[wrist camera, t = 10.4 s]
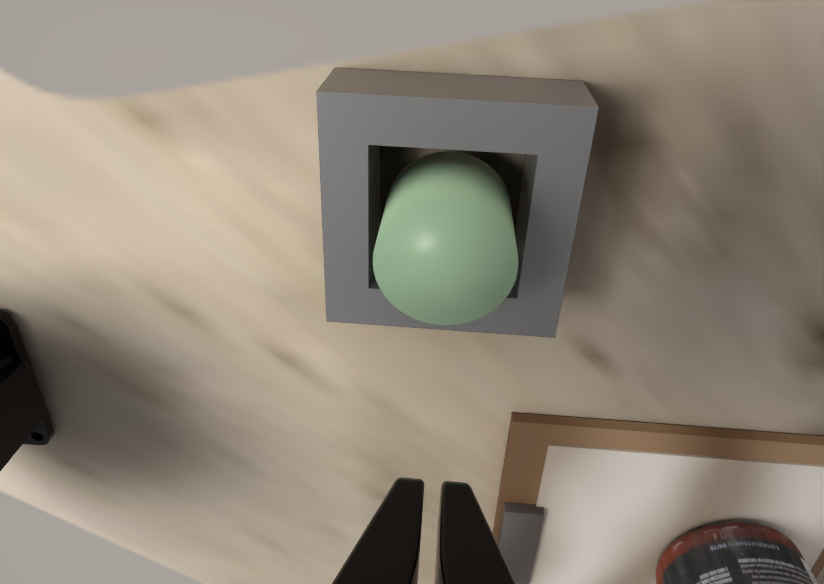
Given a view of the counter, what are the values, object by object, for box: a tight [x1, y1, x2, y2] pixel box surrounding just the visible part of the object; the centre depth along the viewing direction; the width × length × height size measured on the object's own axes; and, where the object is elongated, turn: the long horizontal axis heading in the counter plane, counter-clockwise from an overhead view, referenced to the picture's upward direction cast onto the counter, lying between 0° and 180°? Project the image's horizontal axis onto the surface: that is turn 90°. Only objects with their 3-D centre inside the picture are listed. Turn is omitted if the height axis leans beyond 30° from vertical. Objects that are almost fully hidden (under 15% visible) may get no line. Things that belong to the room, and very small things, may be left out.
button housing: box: [316, 68, 599, 338], centre depth 19 cm, size 7×7×3 cm
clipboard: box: [493, 413, 824, 584], centre depth 27 cm, size 14×14×1 cm
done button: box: [373, 152, 518, 325], centre depth 17 cm, size 4×4×3 cm
